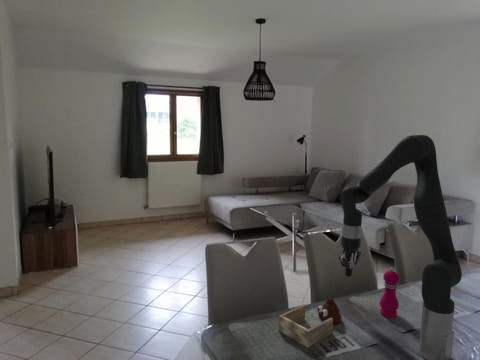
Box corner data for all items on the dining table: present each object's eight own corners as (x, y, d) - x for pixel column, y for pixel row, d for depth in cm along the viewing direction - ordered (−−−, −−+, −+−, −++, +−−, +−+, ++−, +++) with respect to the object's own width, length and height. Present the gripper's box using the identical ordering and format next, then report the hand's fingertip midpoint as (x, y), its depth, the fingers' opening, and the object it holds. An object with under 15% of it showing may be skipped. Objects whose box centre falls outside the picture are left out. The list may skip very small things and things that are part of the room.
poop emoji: (345, 324, 152) (347, 301, 151) (326, 327, 150) (327, 304, 148) (332, 311, 162) (333, 290, 160) (313, 314, 159) (314, 293, 158)
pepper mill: (399, 319, 156) (403, 272, 152) (380, 317, 157) (383, 270, 154) (396, 311, 163) (399, 265, 159) (377, 309, 164) (381, 263, 161)
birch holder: (332, 333, 145) (333, 318, 144) (307, 347, 136) (308, 331, 135) (302, 318, 156) (303, 304, 155) (278, 330, 147) (278, 315, 146)
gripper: (350, 240, 151) (347, 283, 154) (368, 234, 159) (365, 274, 162) (333, 236, 156) (331, 277, 159) (352, 230, 165) (349, 269, 168)
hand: (348, 275), depth 161 cm, fingers closed
